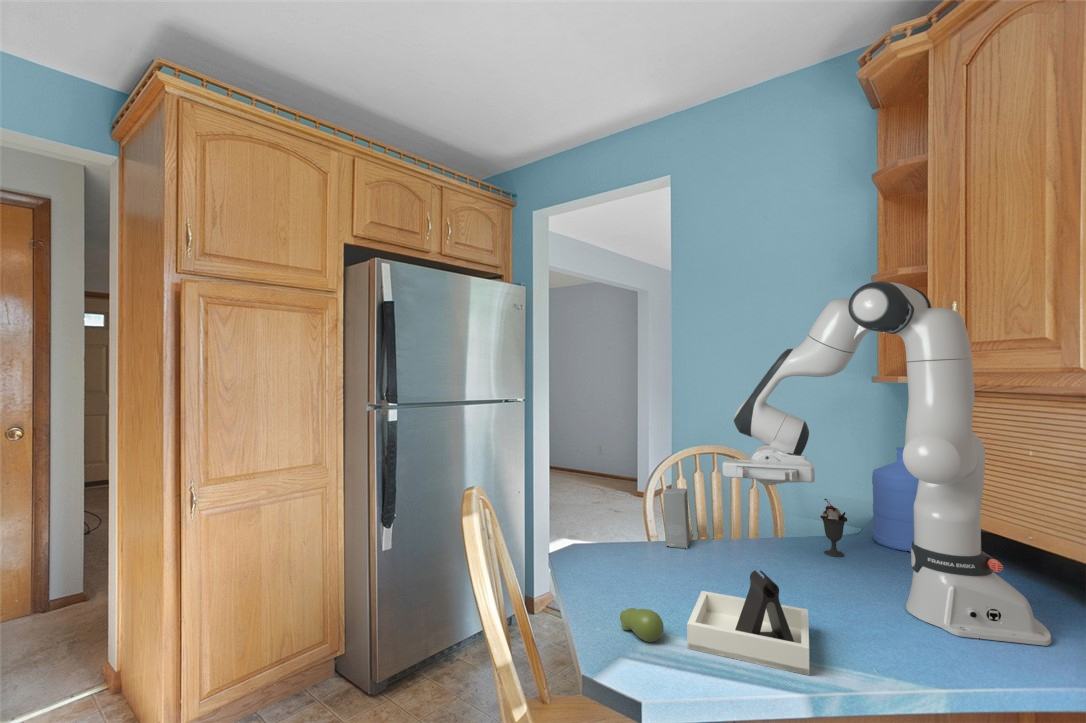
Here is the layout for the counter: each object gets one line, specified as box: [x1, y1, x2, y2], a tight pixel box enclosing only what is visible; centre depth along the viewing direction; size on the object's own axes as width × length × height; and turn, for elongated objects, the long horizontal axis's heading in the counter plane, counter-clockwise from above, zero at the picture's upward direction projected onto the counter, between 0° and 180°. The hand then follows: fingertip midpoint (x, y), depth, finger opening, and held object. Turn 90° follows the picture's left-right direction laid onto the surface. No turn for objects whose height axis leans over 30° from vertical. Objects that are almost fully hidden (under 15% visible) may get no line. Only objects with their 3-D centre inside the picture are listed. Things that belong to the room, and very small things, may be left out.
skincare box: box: [662, 487, 691, 550], centre depth 155 cm, size 8×7×16 cm
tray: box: [686, 590, 811, 677], centre depth 99 cm, size 20×16×4 cm
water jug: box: [871, 447, 919, 553], centre depth 154 cm, size 16×16×28 cm
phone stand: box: [735, 569, 794, 642], centre depth 97 cm, size 9×6×12 cm, turn 89°
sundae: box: [820, 498, 848, 558], centre depth 146 cm, size 7×7×15 cm
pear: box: [619, 607, 664, 643], centre depth 102 cm, size 6×5×10 cm
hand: (765, 475), depth 120 cm, fingers open, 8 cm apart
